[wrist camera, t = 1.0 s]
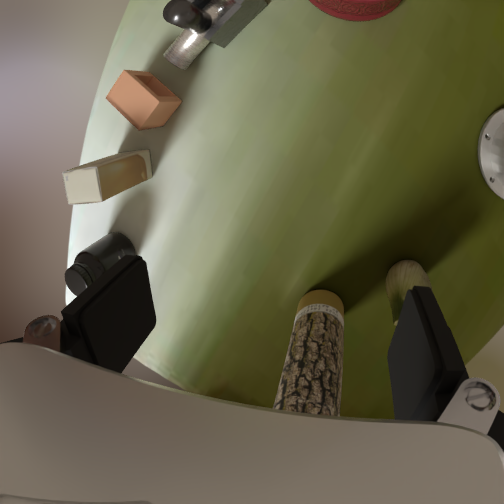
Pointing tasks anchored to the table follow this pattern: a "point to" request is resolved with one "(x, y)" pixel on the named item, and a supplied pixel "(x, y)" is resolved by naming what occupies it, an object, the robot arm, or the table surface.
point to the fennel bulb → (403, 283)
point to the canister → (356, 8)
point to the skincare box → (106, 177)
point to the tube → (192, 28)
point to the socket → (143, 99)
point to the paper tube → (314, 357)
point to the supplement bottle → (97, 261)
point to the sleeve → (232, 20)
